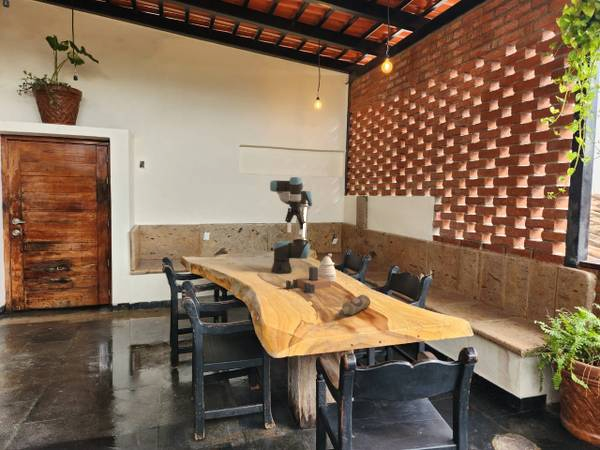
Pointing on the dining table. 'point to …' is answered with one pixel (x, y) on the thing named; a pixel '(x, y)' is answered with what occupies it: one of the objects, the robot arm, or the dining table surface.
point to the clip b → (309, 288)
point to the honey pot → (327, 269)
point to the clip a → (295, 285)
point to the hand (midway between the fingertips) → (294, 233)
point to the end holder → (314, 282)
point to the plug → (313, 273)
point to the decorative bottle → (355, 305)
